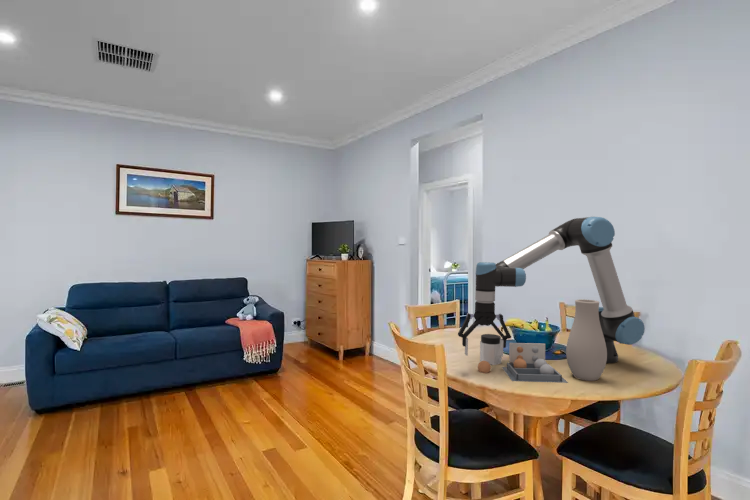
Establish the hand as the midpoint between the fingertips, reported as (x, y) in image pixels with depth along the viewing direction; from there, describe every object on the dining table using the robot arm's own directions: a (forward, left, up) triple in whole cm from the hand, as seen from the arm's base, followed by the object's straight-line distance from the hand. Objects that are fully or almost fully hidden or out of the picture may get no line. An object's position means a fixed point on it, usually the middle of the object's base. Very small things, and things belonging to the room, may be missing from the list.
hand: (483, 355), depth 164 cm
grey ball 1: (-22, -1, -6) cm, 23 cm away
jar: (-5, -13, -7) cm, 16 cm away
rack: (-18, +2, -7) cm, 20 cm away
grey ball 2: (-22, +6, -6) cm, 24 cm away
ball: (0, 0, -7) cm, 7 cm away
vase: (-37, +4, -7) cm, 38 cm away
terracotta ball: (-14, -1, -6) cm, 16 cm away
